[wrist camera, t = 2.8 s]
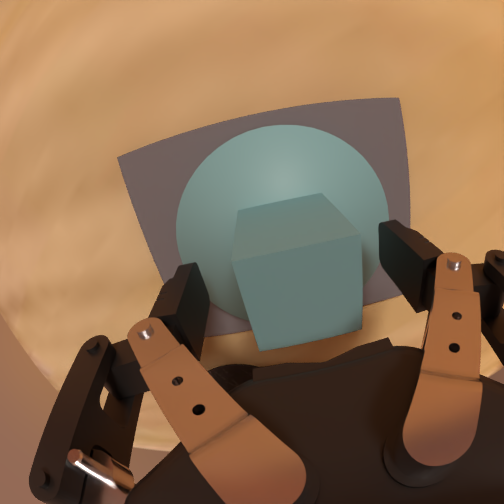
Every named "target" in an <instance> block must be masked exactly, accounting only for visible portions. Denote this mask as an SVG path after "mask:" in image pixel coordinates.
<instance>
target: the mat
mask: <svg viewBox="0 0 504 504" xmlns="http://www.w3.org/2000/svg"><path fill="white" fill-rule="evenodd" d="M273 125H299V126H305V127H311V128H315V129H318V130H321V131H324V132H327V133H329V134H332V135H334V136H336V137H338V138H340V139H341V140H343V141H344V142H346V143H347V144H349V145H350V146H352V147H353V148H354V149H355V150H356V151H357V152H359V153H360V154H361V155H362V156H363V157H364V158H365V160H366V161H367V162H368V163H369V165H370V166H371V167H372V168H373V170H374V172H375V173H376V175H377V177H378V179H379V180H380V183H381V185H382V188H383V190H384V193H385V197H386V201H387V205H388V214H389V220H394V219H396V220H397V221H399V222H400V223H401V224H402V225H404V226H405V227H406V228H410V185H409V169H408V157H407V147H406V139H405V131H404V124H403V118H402V111H401V106H400V100H399V98H372V99H356V100H344V101H333V102H324V103H316V104H309V105H302V106H296V107H289V108H284V109H278V110H273V111H267V112H262V113H258V114H253V115H248V116H244V117H240V118H236V119H231V120H227V121H224V122H220V123H216V124H212V125H209V126H205V127H202V128H198V129H195V130H192V131H188V132H185V133H182V134H179V135H176V136H173V137H170V138H167V139H164V140H161V141H158V142H155V143H153V144H150V145H147V146H145V147H142V148H139V149H137V150H134V151H132V152H129V153H127V154H124V155H122V156H119V157H117V159H118V162H119V165H120V168H121V172H122V175H123V178H124V181H125V184H126V187H127V190H128V193H129V196H130V199H131V202H132V204H133V207H134V210H135V213H136V216H137V218H138V221H139V224H140V226H141V229H142V231H143V234H144V237H145V239H146V242H147V244H148V247H149V249H150V252H151V254H152V256H153V259H154V261H155V264H156V266H157V268H158V271H159V273H160V275H161V278H162V280H163V282H164V284H165V283H166V282H167V281H168V280H169V279H170V278H173V277H174V275H175V272H176V270H177V268H178V266H179V265H183V263H182V260H181V257H180V254H179V251H178V245H177V239H176V220H177V212H178V207H179V204H180V200H181V197H182V194H183V192H184V190H185V188H186V185H187V183H188V181H189V180H190V178H191V177H192V175H193V174H194V172H195V170H196V169H197V168H198V167H199V166H200V164H201V163H202V162H203V161H204V160H205V159H206V158H207V157H208V156H209V155H210V154H211V153H212V152H213V151H215V150H216V149H217V148H218V147H220V146H221V145H223V144H224V143H226V142H227V141H229V140H230V139H232V138H234V137H236V136H238V135H240V134H243V133H245V132H247V131H250V130H254V129H257V128H261V127H266V126H273ZM399 295H402V293H401V291H400V290H399V289H398V287H397V286H396V285H395V283H394V282H393V281H392V280H391V278H390V277H389V276H388V274H387V273H386V272H385V271H384V269H383V268H382V266H381V263H379V265H378V267H377V269H376V270H375V272H374V274H373V275H372V277H371V278H370V279H369V281H368V282H367V283H366V285H365V286H364V287H363V306H364V305H367V304H371V303H375V302H378V301H382V300H385V299H389V298H392V297H396V296H399ZM249 330H252V327H251V324H250V321H248V320H244V319H241V318H239V317H236V316H234V315H231V314H229V313H228V312H226V311H224V310H222V309H221V308H219V307H218V306H216V305H215V304H213V303H212V302H211V301H210V307H209V313H208V318H207V324H206V329H205V335H204V337H211V336H218V335H224V334H231V333H237V332H243V331H249Z"/></svg>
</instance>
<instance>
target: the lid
mask: <svg viewBox="0 0 504 504" xmlns="http://www.w3.org/2000/svg"><path fill="white" fill-rule="evenodd" d="M385 221H389V214H388V205H387V201H386V197H385V193H384V190H383V188H382V185H381V183H380V180H379V179H378V177H377V175H376V173H375V172H374V170H373V168H372V167H371V166H370V165H369V163H368V162H367V161H366V160H365V158H364V157H363V156H362V155H361V154H360V153H359V152H357V151H356V150H355V149H354V148H353V147H352V146H350V145H349V144H347V143H346V142H344V141H343V140H341V139H340V138H338V137H336V136H334V135H332V134H329V133H327V132H324V131H321V130H318V129H315V128H311V127H305V126H299V125H273V126H266V127H261V128H257V129H254V130H250V131H247V132H245V133H243V134H240V135H238V136H236V137H234V138H232V139H230V140H229V141H227V142H226V143H224V144H223V145H221V146H220V147H218V148H217V149H216V150H215V151H213V152H212V153H211V154H210V155H209V156H208V157H207V158H206V159H205V160H204V161H203V162H202V163H201V164H200V166H199V167H198V168H197V169H196V170H195V172H194V174H193V175H192V177H191V178H190V180H189V181H188V183H187V185H186V188H185V190H184V192H183V194H182V197H181V200H180V204H179V207H178V212H177V220H176V239H177V245H178V251H179V254H180V257H181V260H182V263H183V264H188V263H193V262H196V263H197V265H198V267H199V269H200V272H201V275H202V277H203V280H204V283H205V285H206V288H207V291H208V294H209V298H210V301H211V302H212V303H213V304H215V305H216V306H218V307H219V308H221V309H222V310H224V311H226V312H228V313H229V314H231V315H234V316H236V317H239V318H241V319H244V320H248V321H250V324H251V327H252V330H253V333H254V336H255V339H256V342H257V345H258V348H259V351H266V350H272V349H277V348H283V347H288V346H293V345H298V344H303V343H308V342H312V341H317V340H321V339H325V338H330V337H334V336H338V335H342V334H346V333H350V332H354V331H357V330H361V329H362V306H363V287H364V286H365V285H366V283H367V282H368V281H369V279H370V278H371V277H372V275H373V274H374V272H375V270H376V269H377V267H378V265H379V263H380V260H379V234H378V226H379V223H380V222H385Z"/></svg>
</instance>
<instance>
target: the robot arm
mask: <svg viewBox="0 0 504 504" xmlns="http://www.w3.org/2000/svg"><path fill="white" fill-rule="evenodd" d="M378 234H379V260H380V263H381V266H382V268H383V269H384V271H385V272H386V273H387V274H388V276H389V277H390V278H391V280H392V281H393V282H394V283H395V285H396V286H397V287H398V289H399V290H400V291H401V293H402V294H403V295H404V297H405V298H406V299H407V301H408V302H409V303H410V305H411V306H412V308H413V309H414V310H415V312H416V313H419V312H422V311H425V310H428V317H427V322H426V327H425V332H424V337H423V341H422V346H421V349H419V348H415V347H408V346H392V344H391V342H390V340H389V338H384V339H381V340H378V341H375V342H371V343H368V344H364V345H361V346H357V347H355V348H353V349H351V350H349V351H347V352H345V353H343V354H341V355H339V356H337V357H335V358H333V359H331V360H329V361H326V362H321V363H284V364H279V365H273V366H267V367H261V368H255V369H253V379H251V380H249V381H247V382H244V383H242V384H240V385H239V386H237V387H235V388H233V389H232V390H231V391H229V392H228V393H227V392H226V391H225V390H224V389H223V388H222V387H221V386H220V385H219V384H218V383H217V382H216V381H215V380H214V379H213V378H212V376H211V375H210V374H209V373H208V372H207V371H206V370H205V369H204V368H203V366H202V365H201V364H200V363H199V362H198V361H200V357H201V352H202V346H203V340H204V335H205V329H206V324H207V318H208V313H209V307H210V298H209V294H208V291H207V288H206V285H205V283H204V280H203V277H202V275H201V272H200V269H199V267H198V265H197V263H196V262H193V263H188V264H183V265H179V266H178V268H177V270H176V272H175V275H174V277H173V278H170V279H169V280H168V281H167V282H166V283H165V284H164V285H163V286H162V288H161V291H160V293H159V294H160V295H158V297H157V299H156V300H157V301H155V304H154V306H153V308H152V310H151V313H150V315H149V317H148V318H146V319H143V320H141V321H139V322H138V323H136V324H135V325H134V326H133V327H132V328H131V329H130V330H129V332H128V335H127V338H128V339H126V340H123V341H120V342H117V343H114V344H111V342H110V341H109V339H108V338H107V337H106V336H104V335H98V336H95V337H93V338H91V339H89V340H88V341H86V342H85V343H84V344H83V346H82V347H81V349H80V351H79V352H78V354H77V356H76V358H75V360H74V362H73V364H72V367H71V369H70V371H69V373H68V375H67V377H66V379H65V381H64V383H63V386H62V388H61V390H60V392H59V395H58V397H57V399H56V402H55V404H54V406H53V409H52V411H51V414H50V416H49V419H48V421H47V424H46V427H45V429H44V432H43V435H42V438H41V440H40V443H39V446H38V449H37V452H36V455H35V458H34V462H33V465H32V468H31V472H30V476H29V486H30V489H31V492H32V493H33V495H34V496H35V497H36V498H37V499H38V500H40V501H42V502H44V503H46V504H504V384H501V383H499V382H497V381H494V380H492V379H490V378H487V377H485V376H483V375H480V358H481V332H482V334H483V335H484V336H485V338H486V339H487V341H488V342H489V344H490V345H491V347H492V348H493V350H494V351H495V353H496V355H497V356H498V358H499V359H500V361H501V363H502V364H503V366H504V309H503V308H502V306H503V303H504V251H500V250H490V251H488V252H487V253H486V256H485V261H484V263H482V264H471V263H470V261H469V259H468V258H466V257H465V256H463V255H461V254H458V253H443V252H442V251H441V250H440V249H438V248H437V247H436V246H435V245H434V244H432V243H431V242H429V240H427V239H426V238H424V236H422V235H421V234H420V233H419V232H417V231H415V230H412V229H410V228H406V227H405V226H404V225H402V224H401V223H400V222H399V221H397V220H396V219H394V220H389V221H385V222H380V223H379V226H378ZM103 387H105V388H106V389H107V390H108V391H109V393H108V396H107V400H106V403H105V406H104V409H103V410H102V408H101V406H100V395H101V392H102V389H103ZM147 391H151V393H152V395H153V396H154V398H155V400H156V402H157V404H158V405H159V407H160V409H161V410H162V412H163V414H164V415H165V417H166V419H167V420H168V422H169V424H170V425H171V427H172V428H173V430H174V431H175V433H176V435H177V436H178V438H179V439H180V441H181V442H180V443H179V444H178V445H177V446H176V447H175V448H174V449H173V450H172V451H171V452H170V453H169V454H168V455H167V456H166V457H165V458H164V459H163V460H162V461H161V462H160V463H159V464H157V465H156V466H155V467H154V468H153V469H152V470H151V471H150V472H149V473H148V474H147V475H146V476H145V477H144V478H143V479H141V480H140V481H139V482H138V483H137V484H135V483H134V478H133V474H132V472H131V471H130V470H129V464H130V457H131V452H132V447H133V441H134V436H135V431H136V426H137V421H138V417H139V412H140V408H141V403H142V399H143V394H144V392H147Z"/></svg>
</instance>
